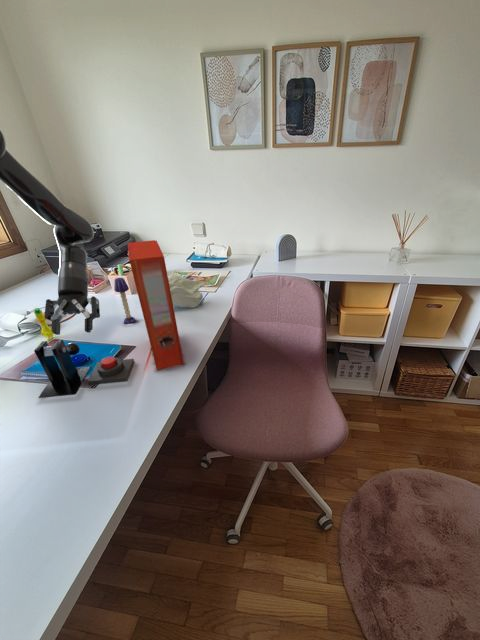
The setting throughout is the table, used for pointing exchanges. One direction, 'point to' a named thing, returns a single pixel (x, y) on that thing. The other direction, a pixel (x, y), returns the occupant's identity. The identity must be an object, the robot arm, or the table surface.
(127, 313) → the toy lamp
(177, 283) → the wavy plaster lump
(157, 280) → the file binder
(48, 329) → the toy figure
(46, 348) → the lever
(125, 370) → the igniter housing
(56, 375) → the black stand
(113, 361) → the disc
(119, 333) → the table surface
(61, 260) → the robot arm
